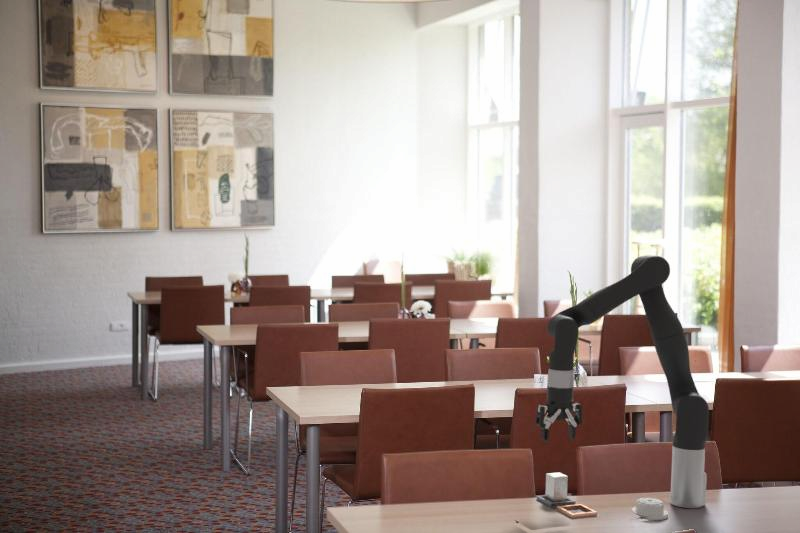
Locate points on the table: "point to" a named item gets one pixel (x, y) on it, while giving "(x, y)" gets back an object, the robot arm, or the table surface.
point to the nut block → (556, 487)
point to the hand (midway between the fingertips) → (558, 440)
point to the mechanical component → (650, 509)
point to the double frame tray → (569, 508)
